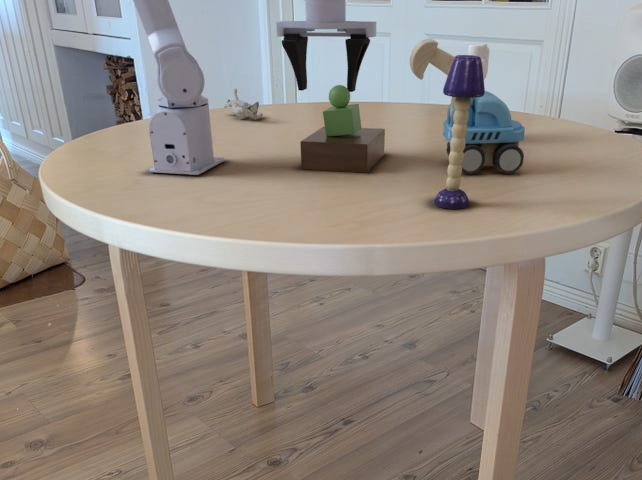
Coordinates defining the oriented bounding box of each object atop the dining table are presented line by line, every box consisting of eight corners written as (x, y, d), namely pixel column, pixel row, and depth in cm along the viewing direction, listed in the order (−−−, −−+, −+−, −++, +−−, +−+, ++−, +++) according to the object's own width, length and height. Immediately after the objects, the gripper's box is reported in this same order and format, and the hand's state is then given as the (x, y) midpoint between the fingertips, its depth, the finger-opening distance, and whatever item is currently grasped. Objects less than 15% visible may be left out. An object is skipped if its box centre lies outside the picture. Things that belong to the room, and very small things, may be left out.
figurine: (443, 142, 113) (449, 45, 106) (456, 132, 121) (463, 41, 113) (485, 145, 111) (494, 46, 103) (496, 134, 118) (505, 42, 111)
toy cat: (250, 118, 142) (278, 105, 132) (239, 136, 141) (267, 125, 131) (221, 93, 137) (248, 78, 128) (210, 111, 136) (237, 98, 127)
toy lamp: (469, 199, 83) (482, 53, 75) (477, 209, 79) (492, 57, 71) (431, 199, 83) (440, 54, 75) (437, 210, 79) (448, 58, 71)
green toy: (354, 134, 97) (348, 85, 94) (326, 136, 98) (319, 88, 95) (361, 128, 101) (356, 81, 98) (334, 131, 102) (327, 84, 99)
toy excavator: (402, 162, 101) (407, 37, 92) (511, 160, 101) (526, 35, 93) (409, 176, 93) (415, 41, 85) (526, 174, 94) (544, 40, 85)
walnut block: (367, 172, 95) (367, 144, 93) (301, 169, 98) (300, 141, 96) (384, 154, 105) (384, 128, 103) (324, 151, 108) (323, 126, 106)
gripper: (382, -15, 94) (379, 88, 101) (286, -14, 98) (290, 85, 104) (370, -14, 88) (368, 94, 95) (269, -13, 92) (274, 91, 99)
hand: (326, 90), depth 99 cm, fingers open, 7 cm apart
